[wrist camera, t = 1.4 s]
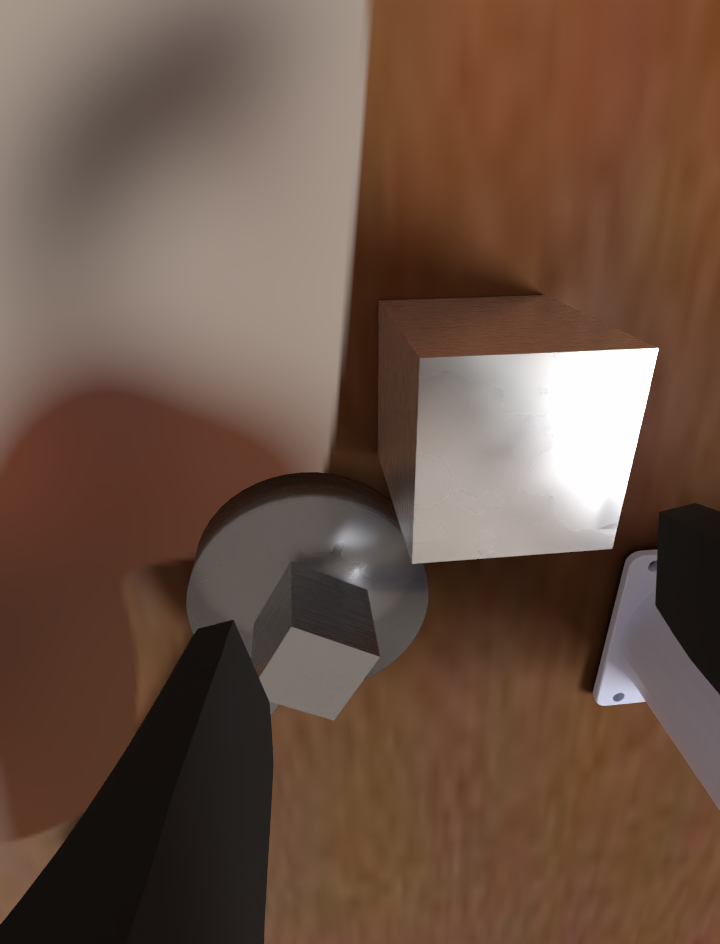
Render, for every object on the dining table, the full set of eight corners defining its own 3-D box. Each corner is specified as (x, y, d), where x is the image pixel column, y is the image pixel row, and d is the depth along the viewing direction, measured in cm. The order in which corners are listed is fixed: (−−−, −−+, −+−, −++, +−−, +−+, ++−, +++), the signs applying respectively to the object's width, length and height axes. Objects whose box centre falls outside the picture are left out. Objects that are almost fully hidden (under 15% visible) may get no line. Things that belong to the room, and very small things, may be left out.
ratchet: (253, 434, 18) (241, 516, 14) (458, 525, 21) (504, 620, 16) (48, 834, 26) (-2, 969, 22) (215, 866, 28) (201, 993, 24)
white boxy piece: (544, 295, 17) (659, 347, 12) (524, 447, 19) (612, 549, 14) (378, 300, 17) (420, 358, 11) (377, 455, 19) (411, 563, 14)
